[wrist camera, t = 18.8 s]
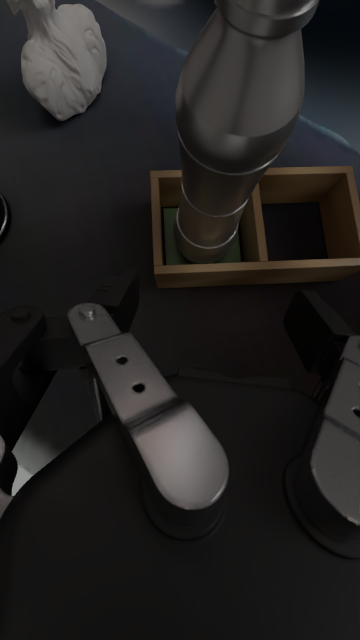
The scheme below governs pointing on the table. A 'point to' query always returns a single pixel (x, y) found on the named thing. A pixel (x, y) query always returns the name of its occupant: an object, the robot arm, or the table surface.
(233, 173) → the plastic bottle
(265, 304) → the table surface
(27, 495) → the robot arm
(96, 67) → the bust
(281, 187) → the brown open rectangular box
